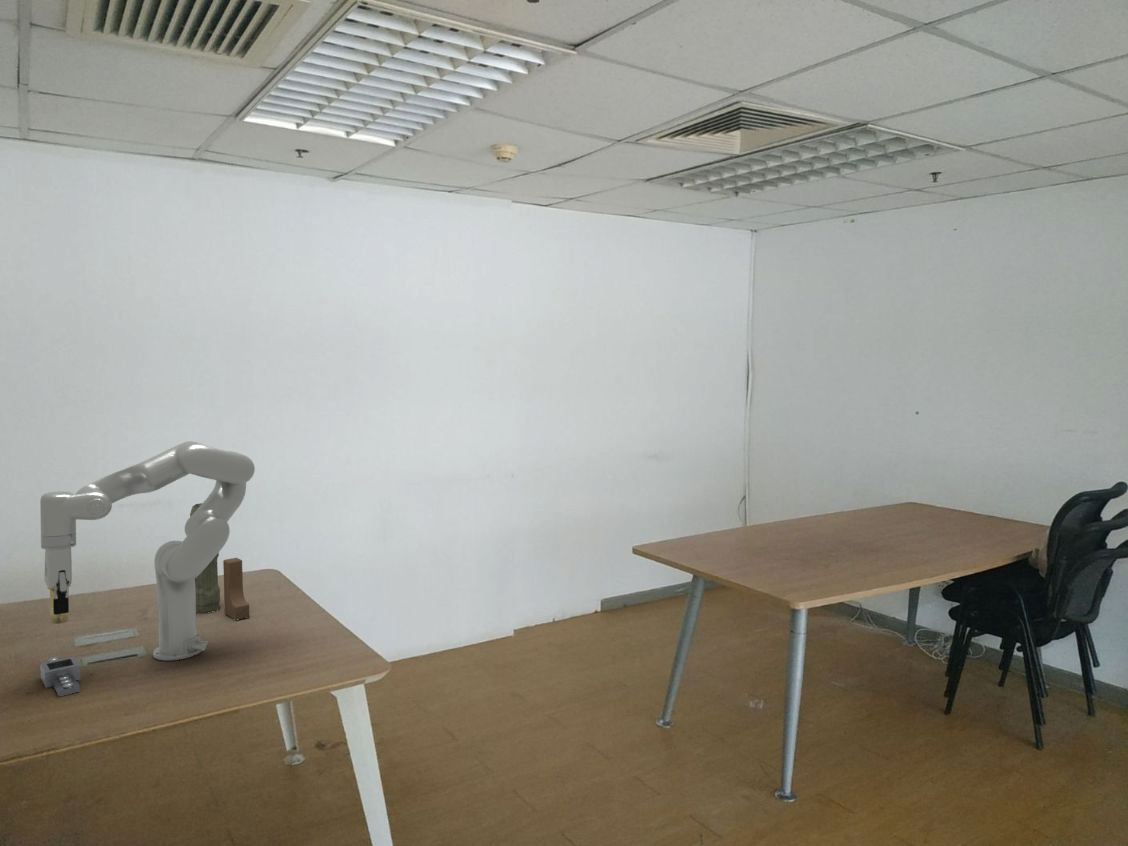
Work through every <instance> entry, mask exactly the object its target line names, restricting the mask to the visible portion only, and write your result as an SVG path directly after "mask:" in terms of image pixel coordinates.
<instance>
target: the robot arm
mask: <svg viewBox="0 0 1128 846" xmlns="http://www.w3.org/2000/svg"><path fill="white" fill-rule="evenodd" d="M255 468H256V467H255V464H254V462H253V460H252V459H251V458H250V457H249V456H246V455H245V454H241V453H239V452H236V451H230V450H223V449H219V448H215V447H211V446H208V445H205V444H202V443H199V442H197V441H192V440H191V441H185V442H182V443H180V444H177V445H175V446H173V447H170V448H169V449H167V450H164V451H163V452H161V453H158V454H156V455H154V456H152V457H150V458H147V459H146V460H143V461H141V462H138V463H136V464H133V465H131V466H128V467H126V468H124V469H121V470H118V471H116V472H113V473H111V474H107V475H105V476H104V477H101V478H99V479H97V480H95V481H93V482H91V483H89V484H87V485H85V486H82V488H79V489H78V490H77V491H76V492H75V493H73V492H71V491H51V492H47V493H44V494H43V495H41V497H40V500H39V501H40V503H39V505H40V507H39V509H40V548H41V549H42V550H44V576H43V577H44V582H45V585H46V586H48V587H49V588H52V587H54V593H55V599H53V609H54V614H55V615H57V614H63V613H68V612H69V613H70V600H69V598H70V596H69V597H68V586H69V585H71V586H72V573H73V571H72V568H73V567H72V566H73V565H72V548H73V547H76V546H77V520H78V521H79V520H80V521H82V520H84V521H95V520H96V521H97V520H100V519H103V518H105V517H107V516H108V515H109V514H110V513H111V511H112V509H113V508H112V507H113V503H114V504H115V502H118V501H120V500H123V499H126V498H128V497H130V496H133V495H140V494H148V493H152V492H156V491H159V490H160V489H162V488H164V487H166V486H167V485H170V484H172V483H173V482H176V481H177V480H180V479H181V478H182V479H183V477H185V476H188V475H193V476H197V477H201V478H205V479H209V480H213V481H215V483H214V484H215V485H214V487H213V489H212V491H211V492H210V493H209V495H208V496H207V498H205V500H204V501H203V502H202V504H201V506H200V507H199V508H198V509H197V510H196V511H195V512H194V513H193V515H192V516H191V517H190V516H189V518H188V519H187V521H186V522H185V524H184V534H185V535H186V537H185V538H184V539H183V540H182V541H181V540H169V541H167V542H165V543H163V544H162V545H160V547H159V548H158V549H157V551H156V553H155V556H154V571H155V580H156V589H157V592H156V593H157V617H158V618H157V625H158V647H156V648H155V649H154V650H153V651H152V657H153V658H154V659H156V660H159V661H177V660H178V661H180V660H184V659H189V658H192V657H194V655H195V656H197V655H199V654H200V653H201V652H204V651H205V650H206V648H207V646H208V643H209V642H208V641H207V640H201V635H200V634H198V632H197V631H198V630H197V614H196V588H195V578H196V577H197V576H199V575H200V574H201V572H202V571H203V570H204V569H205V568H206V567H207V566H208V564H209V563H210V562H211V561H212V560H213V558H214V557H215V556H216V555H217V554H218V552H219V553H220V551H221V550H222V549H223V547H224V546H225V545H226V543H227V541H228V540H229V538H230V531H231V530H230V525H229V523H228V522H229V520H230V519H231V518H232V516H233V515H234V514H235V512H237V510H238V509H239V508H240V506H241V504H242V502H243V500H244V498H245V495H246V492H247V482H249V481H251V479H253V477H254V474H255V471H256V470H255ZM56 584H59V585H60V586H56ZM57 589H60V590H58V591H57ZM179 659H180V660H179Z"/></svg>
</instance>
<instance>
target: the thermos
mask: <svg viewBox="0 0 1128 846" xmlns="http://www.w3.org/2000/svg"><path fill="white" fill-rule="evenodd" d="M202 503H203V502H202ZM202 503H196V504H194V505H193V506H192V507H191V510H190V514H189V518H190V517H191V516H192V515H193V513H194V512H195V511H196V510H197V509H198V508H199V507H200V506H201V504H202ZM219 556H220V551H219V552H218V554H217V555H216V556H215V557H214V558H213V560H212V561H211V562H210V563H209V564H208V566H207V567H206V568H205V569H204V570H203V571H202V572H201V574H200V575H199V576H197V577H196V578H195V588H196V613H205V614H209V613H208V612H211V613H213V612H212V611H215V610H217V609H219V608H221V606H220V605H221V604H220V602H221V589H220V586H219V578H218V574H219V573H218V571H219V569H218V558H219ZM219 610H220V609H219ZM217 611H218V610H217ZM215 612H216V611H215Z"/></svg>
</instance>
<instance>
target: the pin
mask: <svg viewBox="0 0 1128 846" xmlns="http://www.w3.org/2000/svg"><path fill="white" fill-rule="evenodd" d="M46 586H47V585H46ZM56 586H60V585H59V584H56ZM71 586H72V584H71V585H69V586H68V597H69V598H70V596H69V595H70V593H69V589H70V587H71ZM47 589H48V590H49V609H50V611H49V613H50V614H49V617H50V619H49V620H50V624H54V625H55V624H58V625H59V624H63V623H67V622H69V621H70V611H69V612H68V613H63V614H57V615H55V614H54V609H53V599H55V593H54V587H52V588H49V587H48V586H47ZM58 590H60V589H57V591H58Z"/></svg>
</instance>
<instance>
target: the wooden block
mask: <svg viewBox="0 0 1128 846" xmlns="http://www.w3.org/2000/svg"><path fill="white" fill-rule="evenodd" d="M222 566H223V567H222V568H223V596H224V597H223V599H224V600H223V601H224V614H225V616H227V615H228V616H227V617H229V616H230V617H229V618H231V617H232V618H233V619H232V618H231V619H232V620H234V619H235V620H234V621H236V620H237V619H241V620H243V619H242V618H246V617H249V618H250V604H249V602H247V601H246V598H245V596H244V595H245V594H244V586H243V585H244V582H243V578H244V577H243V560H242V559H240V558H238V557H232V558H228V559H224V560H223V563H222ZM246 619H247V618H246ZM237 621H238V620H237Z"/></svg>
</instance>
